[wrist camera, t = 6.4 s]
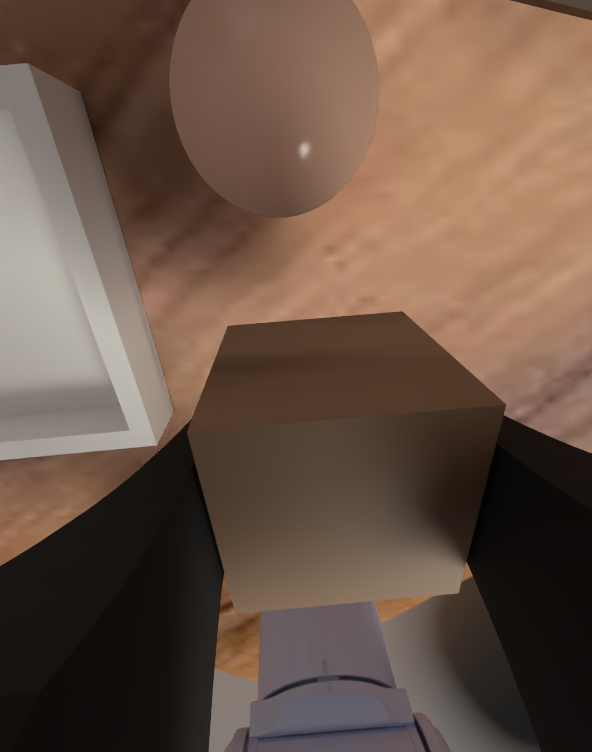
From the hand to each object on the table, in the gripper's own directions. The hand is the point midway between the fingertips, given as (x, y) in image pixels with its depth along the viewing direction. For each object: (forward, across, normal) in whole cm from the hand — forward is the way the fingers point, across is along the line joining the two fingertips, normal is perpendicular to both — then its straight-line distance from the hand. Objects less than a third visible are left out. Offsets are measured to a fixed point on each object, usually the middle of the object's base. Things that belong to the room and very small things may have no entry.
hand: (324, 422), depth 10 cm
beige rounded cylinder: (+8, +1, -8) cm, 11 cm away
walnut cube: (+2, 0, 0) cm, 2 cm away
